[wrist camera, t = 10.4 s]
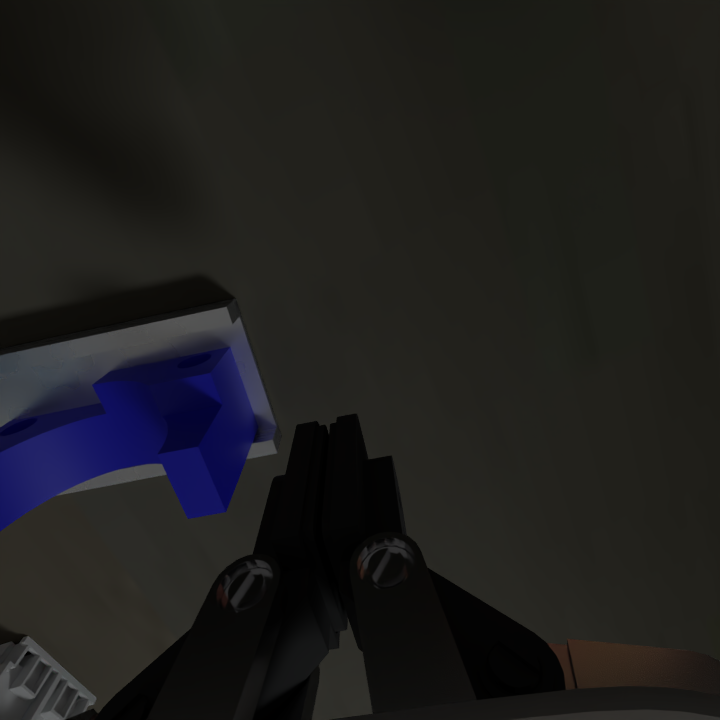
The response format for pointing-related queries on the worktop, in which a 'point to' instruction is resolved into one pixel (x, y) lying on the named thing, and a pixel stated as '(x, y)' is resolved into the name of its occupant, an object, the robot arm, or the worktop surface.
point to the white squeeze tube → (122, 350)
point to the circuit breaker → (37, 685)
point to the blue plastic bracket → (138, 435)
